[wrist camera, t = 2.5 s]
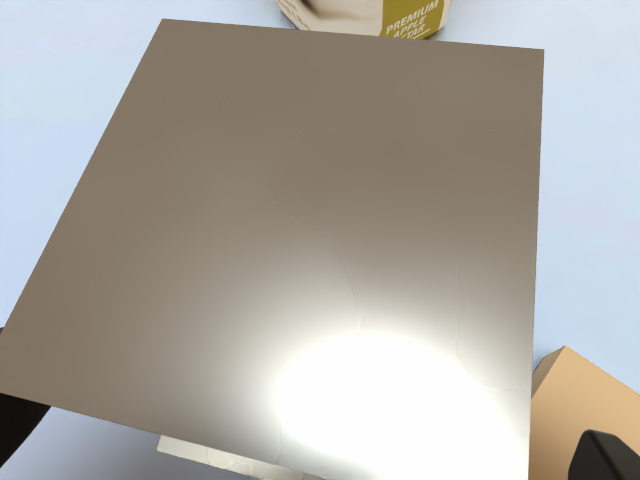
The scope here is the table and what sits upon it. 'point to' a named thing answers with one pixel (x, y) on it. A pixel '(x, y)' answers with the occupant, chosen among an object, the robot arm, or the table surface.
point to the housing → (301, 258)
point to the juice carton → (369, 16)
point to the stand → (575, 411)
